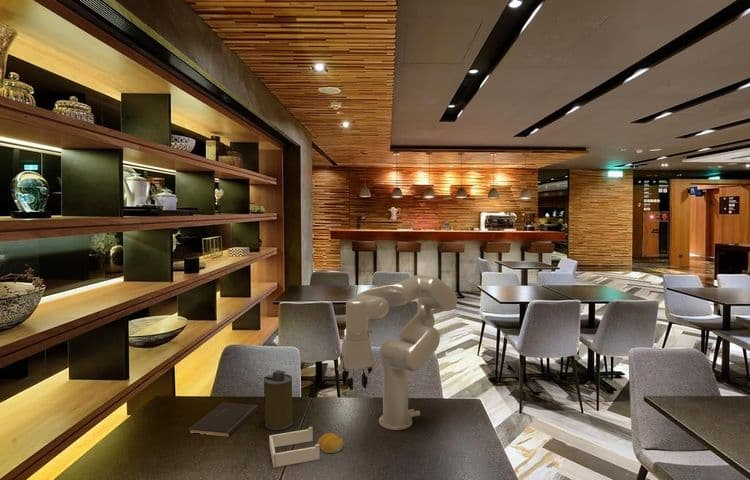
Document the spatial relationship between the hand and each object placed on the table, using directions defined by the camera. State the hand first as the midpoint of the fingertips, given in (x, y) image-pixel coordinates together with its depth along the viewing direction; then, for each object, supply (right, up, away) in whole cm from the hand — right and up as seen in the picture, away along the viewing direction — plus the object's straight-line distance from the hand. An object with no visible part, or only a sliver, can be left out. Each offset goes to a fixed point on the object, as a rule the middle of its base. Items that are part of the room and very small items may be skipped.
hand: (357, 387), depth 151 cm
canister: (-30, -19, +15) cm, 39 cm away
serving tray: (-21, -20, -6) cm, 29 cm away
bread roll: (-9, -20, -2) cm, 22 cm away
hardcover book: (-51, -20, +17) cm, 58 cm away
